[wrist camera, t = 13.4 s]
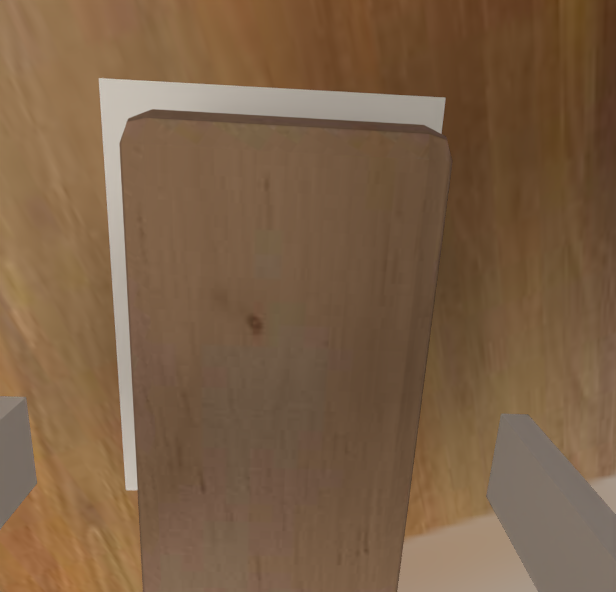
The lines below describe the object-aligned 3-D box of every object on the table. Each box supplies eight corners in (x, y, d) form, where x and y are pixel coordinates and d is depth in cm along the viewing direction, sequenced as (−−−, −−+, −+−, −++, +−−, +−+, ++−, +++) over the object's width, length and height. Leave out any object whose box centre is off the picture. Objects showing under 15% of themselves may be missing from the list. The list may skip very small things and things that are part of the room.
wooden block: (137, 662, 19) (104, 103, 13) (189, 489, 28) (183, 126, 23) (396, 662, 19) (468, 124, 14) (360, 492, 29) (394, 138, 23)
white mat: (442, 98, 23) (445, 97, 23) (397, 490, 29) (399, 494, 29) (102, 79, 22) (98, 78, 22) (128, 485, 28) (125, 490, 28)
